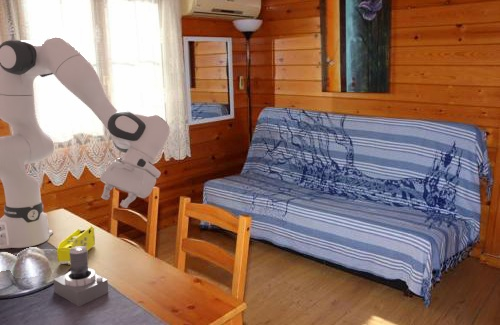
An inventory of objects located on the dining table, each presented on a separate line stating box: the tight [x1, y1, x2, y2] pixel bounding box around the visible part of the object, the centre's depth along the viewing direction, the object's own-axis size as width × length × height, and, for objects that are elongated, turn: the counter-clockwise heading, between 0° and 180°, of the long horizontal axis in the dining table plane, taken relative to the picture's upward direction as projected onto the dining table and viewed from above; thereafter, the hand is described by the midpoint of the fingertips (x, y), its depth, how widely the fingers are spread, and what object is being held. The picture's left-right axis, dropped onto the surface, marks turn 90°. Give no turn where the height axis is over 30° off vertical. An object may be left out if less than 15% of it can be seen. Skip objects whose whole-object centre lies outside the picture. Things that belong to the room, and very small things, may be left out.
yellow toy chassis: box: [56, 225, 96, 263], centre depth 138 cm, size 16×6×8 cm, turn 176°
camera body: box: [53, 267, 109, 307], centre depth 115 cm, size 12×9×6 cm
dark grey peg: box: [70, 246, 89, 280], centre depth 114 cm, size 4×4×9 cm
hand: (113, 202), depth 123 cm, fingers open, 8 cm apart
